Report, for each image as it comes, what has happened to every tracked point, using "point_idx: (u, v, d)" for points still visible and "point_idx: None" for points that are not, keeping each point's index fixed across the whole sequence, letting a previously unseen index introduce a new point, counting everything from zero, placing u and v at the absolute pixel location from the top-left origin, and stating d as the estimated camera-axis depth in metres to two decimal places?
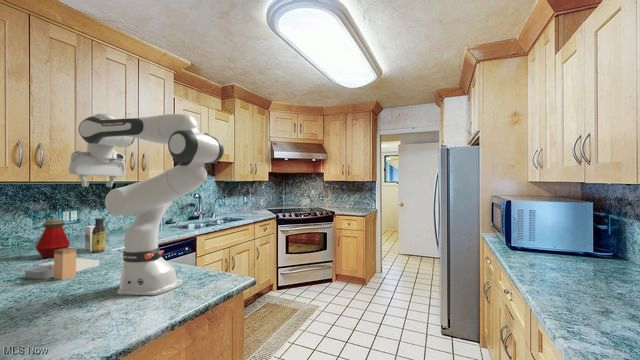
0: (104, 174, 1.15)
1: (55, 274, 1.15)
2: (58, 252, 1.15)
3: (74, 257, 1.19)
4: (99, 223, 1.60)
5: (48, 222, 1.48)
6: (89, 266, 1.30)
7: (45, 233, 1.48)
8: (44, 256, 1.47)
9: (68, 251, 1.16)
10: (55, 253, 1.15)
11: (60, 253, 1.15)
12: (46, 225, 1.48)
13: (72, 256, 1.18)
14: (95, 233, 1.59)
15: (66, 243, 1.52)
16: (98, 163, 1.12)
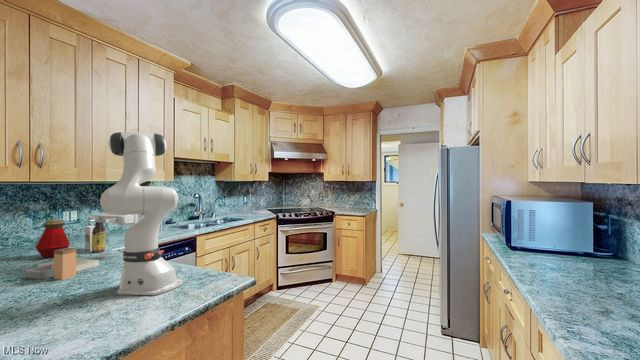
0: (109, 215, 1.35)
1: (55, 274, 1.15)
2: (58, 252, 1.15)
3: (74, 257, 1.19)
4: (99, 223, 1.60)
5: (48, 222, 1.48)
6: (89, 266, 1.30)
7: (45, 233, 1.48)
8: (44, 256, 1.47)
9: (68, 251, 1.16)
10: (55, 253, 1.15)
11: (60, 253, 1.15)
12: (46, 225, 1.48)
13: (72, 256, 1.18)
14: (95, 233, 1.59)
15: (66, 243, 1.52)
16: (114, 214, 1.40)
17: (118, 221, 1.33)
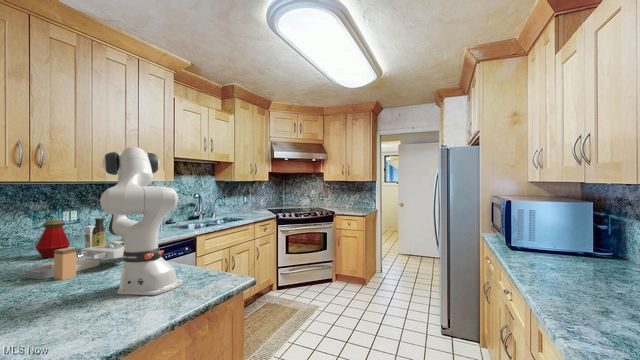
0: (98, 250, 1.30)
1: (55, 274, 1.15)
2: (58, 252, 1.15)
3: (74, 257, 1.19)
4: (99, 223, 1.60)
5: (48, 222, 1.48)
6: (89, 266, 1.30)
7: (45, 233, 1.48)
8: (44, 256, 1.47)
9: (68, 251, 1.16)
10: (55, 253, 1.15)
11: (60, 253, 1.15)
12: (46, 225, 1.48)
13: (72, 256, 1.18)
14: (95, 233, 1.59)
15: (66, 243, 1.52)
16: None
17: (107, 256, 1.27)
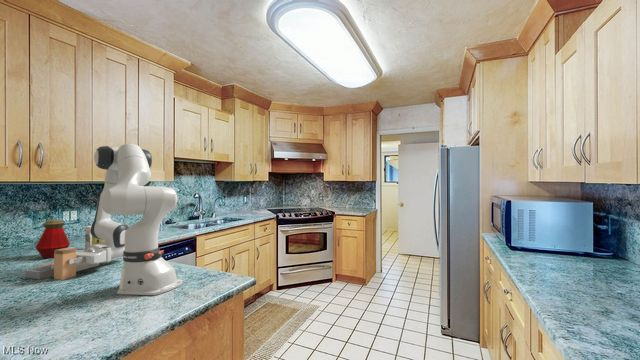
0: (78, 254, 1.21)
1: (55, 274, 1.15)
2: (58, 252, 1.15)
3: (74, 257, 1.19)
4: None
5: (48, 222, 1.48)
6: (89, 266, 1.30)
7: (45, 233, 1.48)
8: (44, 256, 1.47)
9: (68, 251, 1.16)
10: (55, 253, 1.15)
11: (60, 253, 1.15)
12: (46, 225, 1.48)
13: (72, 256, 1.18)
14: None
15: (66, 243, 1.52)
16: (84, 252, 1.26)
17: (87, 261, 1.19)
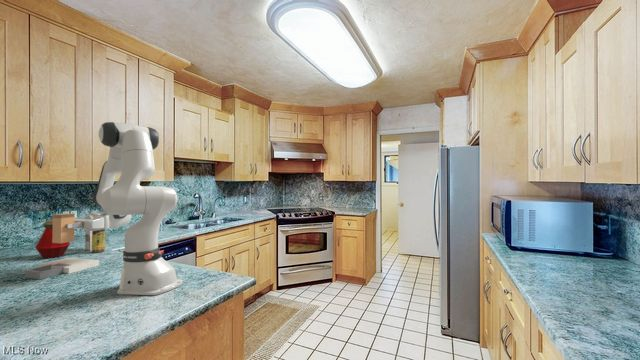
0: (76, 220, 1.22)
1: (54, 238, 1.16)
2: (56, 216, 1.16)
3: (73, 222, 1.19)
4: None
5: (48, 222, 1.48)
6: (89, 266, 1.30)
7: (45, 233, 1.48)
8: (44, 256, 1.47)
9: (67, 216, 1.17)
10: (53, 217, 1.16)
11: (58, 217, 1.15)
12: (46, 225, 1.48)
13: (70, 221, 1.18)
14: (95, 233, 1.59)
15: (66, 243, 1.52)
16: (83, 219, 1.27)
17: (85, 226, 1.20)
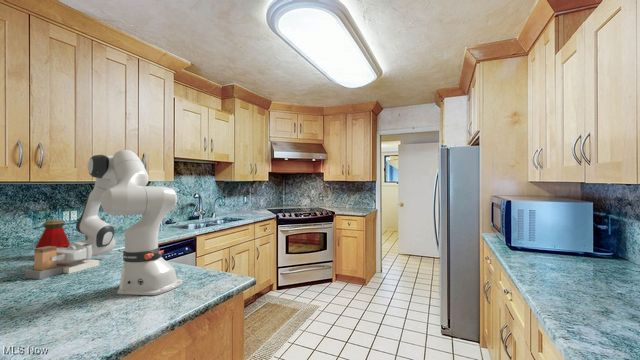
0: (59, 251, 1.24)
1: None
2: (38, 250, 1.18)
3: (55, 255, 1.22)
4: None
5: (48, 222, 1.48)
6: (89, 266, 1.30)
7: (45, 233, 1.48)
8: None
9: (48, 250, 1.20)
10: (35, 251, 1.18)
11: (40, 251, 1.18)
12: (46, 225, 1.48)
13: (52, 254, 1.21)
14: None
15: (66, 243, 1.52)
16: (66, 249, 1.29)
17: (67, 258, 1.22)
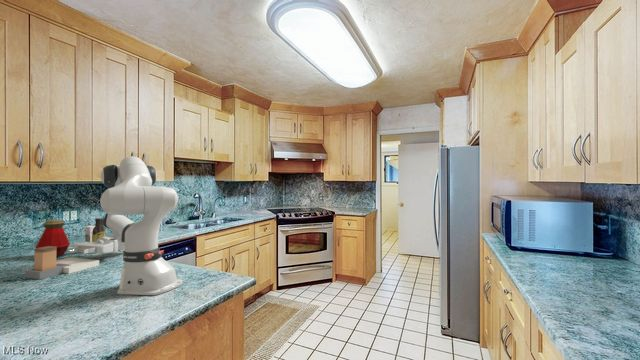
0: (89, 245, 1.37)
1: None
2: (38, 250, 1.18)
3: (55, 255, 1.22)
4: (99, 223, 1.60)
5: (48, 222, 1.48)
6: (89, 266, 1.30)
7: (45, 233, 1.48)
8: None
9: (48, 250, 1.20)
10: (35, 251, 1.18)
11: (40, 251, 1.18)
12: (46, 225, 1.48)
13: (52, 254, 1.21)
14: (95, 233, 1.59)
15: (66, 243, 1.52)
16: (94, 243, 1.42)
17: (97, 251, 1.35)
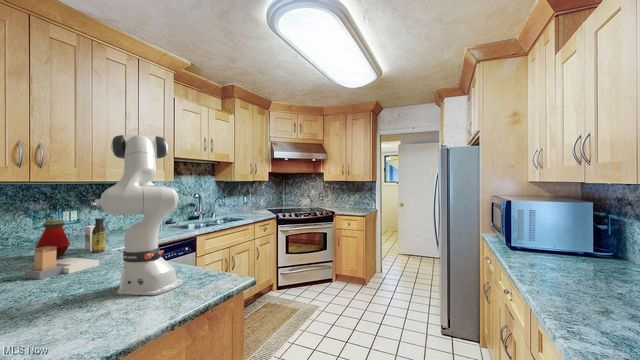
0: None
1: None
2: (38, 250, 1.18)
3: (55, 255, 1.22)
4: (99, 223, 1.60)
5: (48, 222, 1.48)
6: (89, 266, 1.30)
7: (45, 233, 1.48)
8: None
9: (48, 250, 1.20)
10: (35, 251, 1.18)
11: (40, 251, 1.18)
12: (46, 225, 1.48)
13: (52, 254, 1.21)
14: (95, 233, 1.59)
15: (66, 243, 1.52)
16: None
17: None
